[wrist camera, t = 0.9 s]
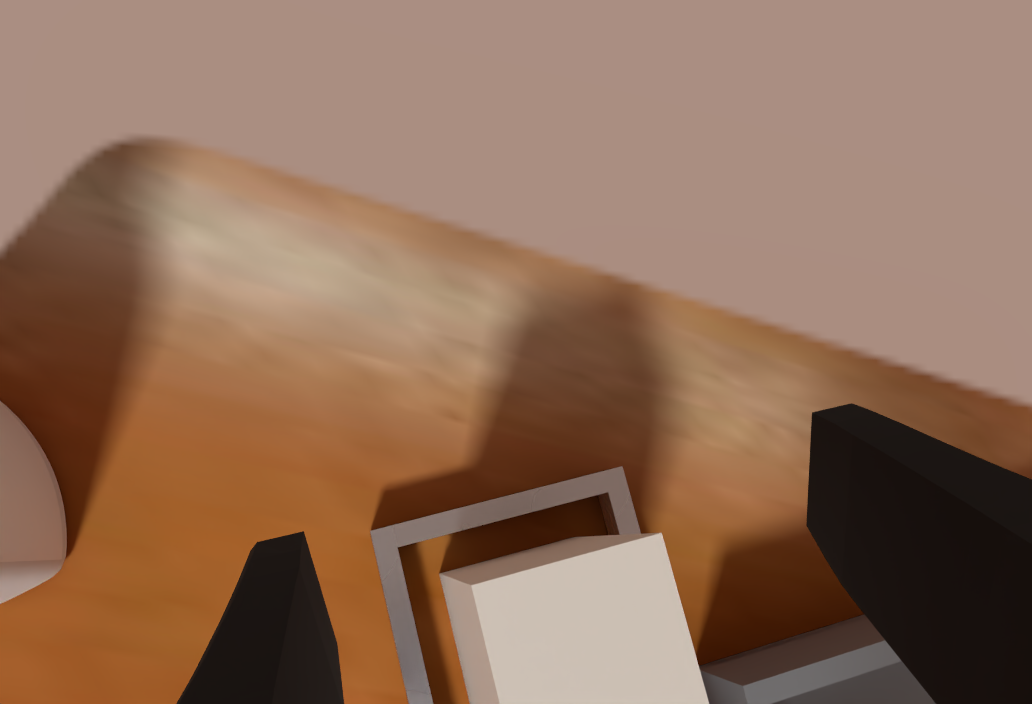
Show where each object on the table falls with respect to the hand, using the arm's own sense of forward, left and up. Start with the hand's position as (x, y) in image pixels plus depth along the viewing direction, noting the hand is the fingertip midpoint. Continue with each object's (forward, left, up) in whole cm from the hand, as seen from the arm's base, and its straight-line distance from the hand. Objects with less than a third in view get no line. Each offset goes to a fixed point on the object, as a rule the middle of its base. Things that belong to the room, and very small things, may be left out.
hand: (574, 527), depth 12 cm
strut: (-3, -1, -14) cm, 14 cm away
